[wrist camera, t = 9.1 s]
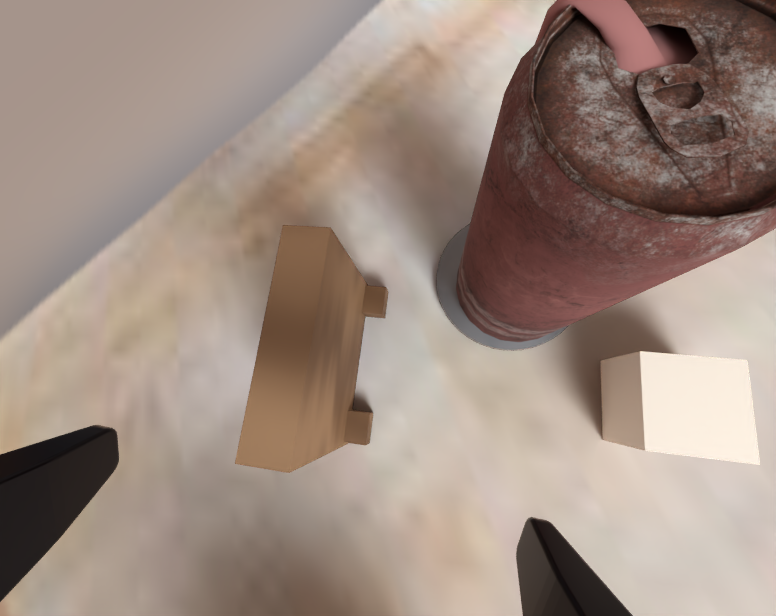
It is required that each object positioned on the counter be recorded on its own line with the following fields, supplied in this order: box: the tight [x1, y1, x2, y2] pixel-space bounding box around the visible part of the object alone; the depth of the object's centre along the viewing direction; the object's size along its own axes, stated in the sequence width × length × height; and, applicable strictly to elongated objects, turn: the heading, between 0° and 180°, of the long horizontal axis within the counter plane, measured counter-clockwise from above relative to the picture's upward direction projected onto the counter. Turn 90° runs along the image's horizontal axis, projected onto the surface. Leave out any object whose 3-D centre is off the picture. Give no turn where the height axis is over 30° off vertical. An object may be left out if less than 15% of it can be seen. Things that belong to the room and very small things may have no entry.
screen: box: [235, 225, 388, 473], centre depth 17 cm, size 9×4×8 cm, turn 174°
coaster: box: [437, 224, 568, 351], centre depth 20 cm, size 8×8×1 cm
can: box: [456, 0, 776, 342], centre depth 13 cm, size 6×6×14 cm
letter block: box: [601, 351, 760, 465], centre depth 16 cm, size 4×4×4 cm
